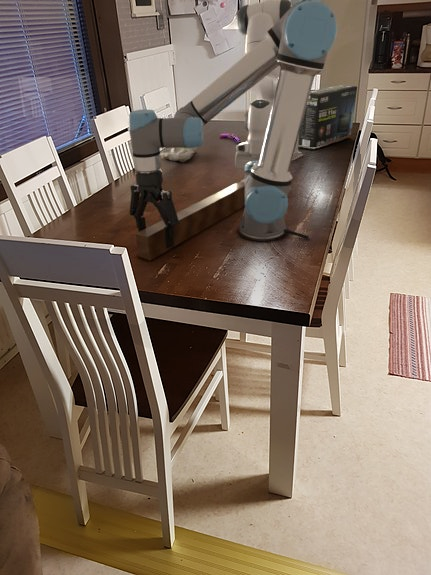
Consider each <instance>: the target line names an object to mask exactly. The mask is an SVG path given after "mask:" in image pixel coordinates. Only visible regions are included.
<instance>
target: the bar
mask: <svg viewBox="0 0 431 575" xmlns="http://www.w3.org/2000/svg"><path fill="white" fill-rule="evenodd" d="M244 202H245V178H243V179H242V180H239V181H238V182H235V183H233V184H231V185H229V186H227V187H225V188H223V189H222V190H219V191H217V192H216V193H214V194H212V195H210V196H207V197H206V198H204V199H201V200H199V201H198V202H196V203H193V204H192V205H189V206H188V207H186V208H184V209H181V210H180V211H178V212H176V214H177V217H178V220H179V224H178V225H176V226H174V236H173V240H174V245H173V246H171V247H169V248H166V242H165V232H164V227H165V226H166V225H165V223H164V221H163V219H161V220H159V221H158V222H156V223H154V224H152V225H150V226H147V227H146V229H144V230H142V231H140V232H138V231H137V232H136V233H135V240H136V245H137V253H138V257H139V258H142V259H145V260H147V261H152V260H153V259H155V258H157V257H159V256H160V255H162V254H164V253H166V252H167V251H169V250H171V249H173V248H175V247H176V246H178V245H180V244H182V243H184V242H185V241H186V240H188V239H190V238H193V237H194V236H195V235H197V234H199V233H200V232H203V231H204V230H206V229H207V228H209V227H211V226H213V225H215V224H217V223H218V222H220V221H221V220H224V218H226V217H228V216H230V215H232V214H234V213H235V212H237V211H239V210H241V209H242V208H245V204H244Z"/></svg>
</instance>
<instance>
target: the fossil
mask: <svg viewBox="0 0 431 575" xmlns="http://www.w3.org/2000/svg"><path fill="white" fill-rule="evenodd" d="M198 153H199V150H198V147H192V148H187V147H183V148H170V150H168V149H165V150H162V151H160V157H161V158H162V159H163V160H169V161H174V162H177V161H179V162H180V163H185V162H187V161H188V160H190V159H191V158H192V157H193V156H194V155H197V154H198Z"/></svg>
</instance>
